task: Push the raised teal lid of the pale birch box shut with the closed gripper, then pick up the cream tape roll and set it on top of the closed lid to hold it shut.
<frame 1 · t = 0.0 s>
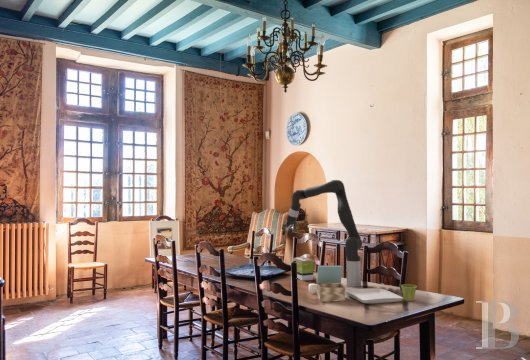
hand: (286, 234, 356), 31 cm above the table, tool tilted 20°, fingers open, 8 cm apart
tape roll: (313, 293, 298), on the table
wooden box: (330, 298, 282), on the table
plant pot: (408, 300, 279), on the table
tea box: (302, 278, 345), on the table
square plate: (372, 299, 283), on the table
box lid: (329, 274, 286), point 14 cm above the table, hinge at 60.0°
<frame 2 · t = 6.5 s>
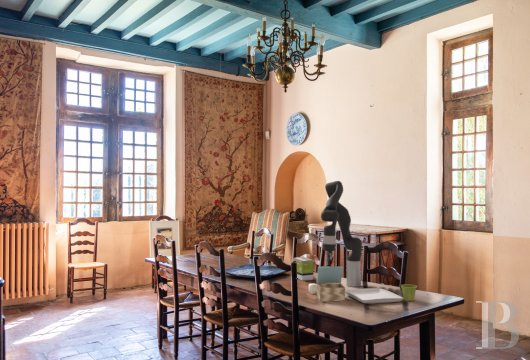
hand: (329, 271, 285), 16 cm above the table, tool pointing down, fingers closed
box lid: (329, 274, 285), point 14 cm above the table, hinge at 56.4°, touching gripper
everything else where it was.
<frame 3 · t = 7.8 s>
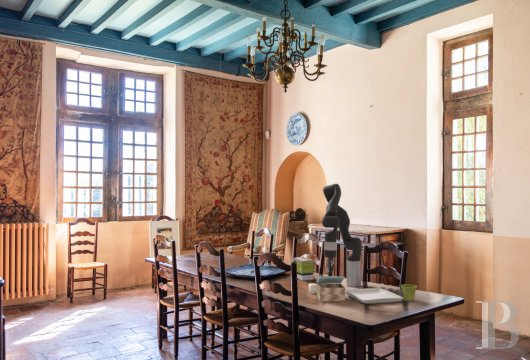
hand: (330, 277, 282), 13 cm above the table, tool pointing down, fingers closed
box lid: (330, 279, 283), point 11 cm above the table, hinge at 25.0°, touching gripper
everything else where it was.
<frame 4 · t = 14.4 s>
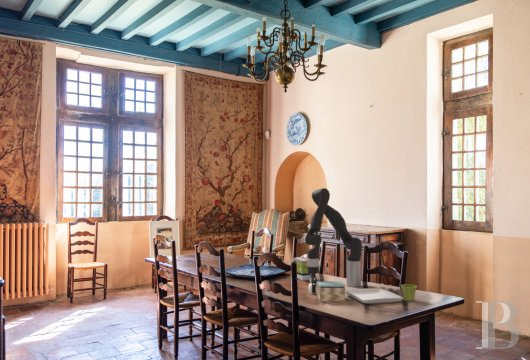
hand: (313, 291, 298), 1 cm above the table, tool pointing down, fingers closed on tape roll, 5 cm apart
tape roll: (313, 293, 298), on the table, touching gripper
box lid: (330, 284, 282), point 9 cm above the table, hinge at 1.9°
everything else where it was.
when the fingers open (11 cm above the table, at t = 19.3 s): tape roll drops 1 cm, resting on box lid.
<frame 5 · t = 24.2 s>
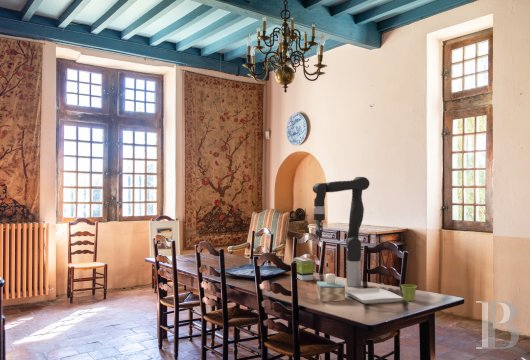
hand: (319, 237, 312), 34 cm above the table, tool pointing down, fingers open, 8 cm apart
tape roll: (330, 283, 282), point 9 cm above the table, touching box lid
box lid: (330, 284, 282), point 9 cm above the table, hinge at 0.8°, touching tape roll
everything else where it was.
at the end: box lid at +1° (first picture: +60°); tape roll inside the target area on the wooden box (0.1 cm from its centre), point 9.3 cm above the wooden box's base; the gripper is holding nothing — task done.
